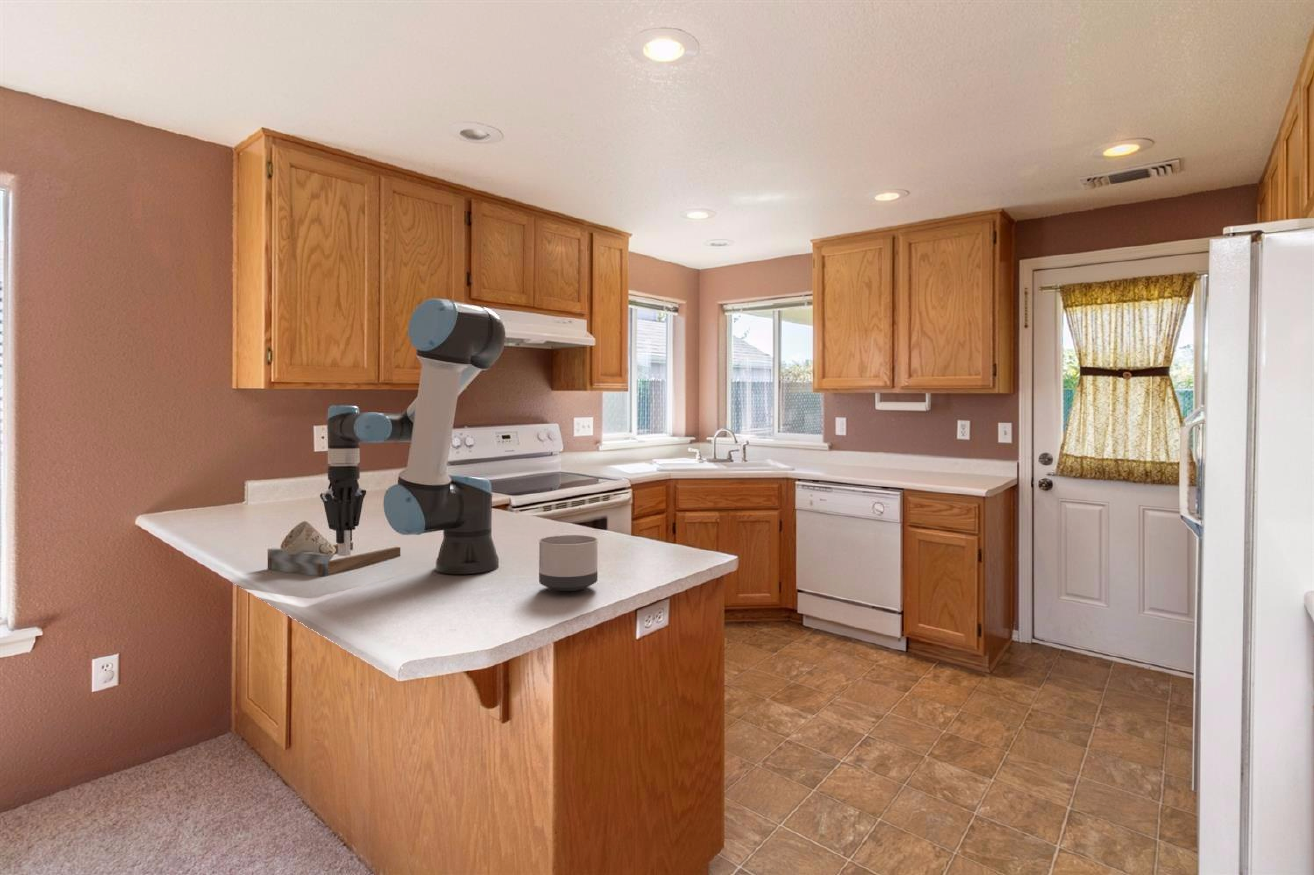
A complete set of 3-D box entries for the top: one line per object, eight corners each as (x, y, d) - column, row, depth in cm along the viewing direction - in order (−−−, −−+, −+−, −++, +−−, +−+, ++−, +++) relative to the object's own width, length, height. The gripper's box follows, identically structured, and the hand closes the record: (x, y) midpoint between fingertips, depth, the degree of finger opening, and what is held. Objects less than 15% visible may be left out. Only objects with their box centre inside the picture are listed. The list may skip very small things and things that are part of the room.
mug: (329, 567, 161) (294, 543, 156) (298, 580, 166) (264, 558, 161) (344, 540, 167) (311, 516, 162) (314, 553, 172) (282, 531, 167)
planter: (545, 579, 153) (545, 534, 153) (600, 580, 153) (600, 535, 153) (533, 593, 140) (533, 544, 140) (593, 594, 140) (593, 544, 140)
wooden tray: (400, 558, 177) (400, 539, 177) (322, 576, 155) (322, 555, 155) (348, 552, 185) (348, 534, 185) (267, 569, 163) (267, 548, 163)
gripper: (353, 463, 179) (353, 550, 179) (311, 465, 167) (312, 558, 167) (374, 464, 176) (374, 552, 177) (333, 466, 164) (333, 561, 165)
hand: (344, 555), depth 172 cm, fingers closed
